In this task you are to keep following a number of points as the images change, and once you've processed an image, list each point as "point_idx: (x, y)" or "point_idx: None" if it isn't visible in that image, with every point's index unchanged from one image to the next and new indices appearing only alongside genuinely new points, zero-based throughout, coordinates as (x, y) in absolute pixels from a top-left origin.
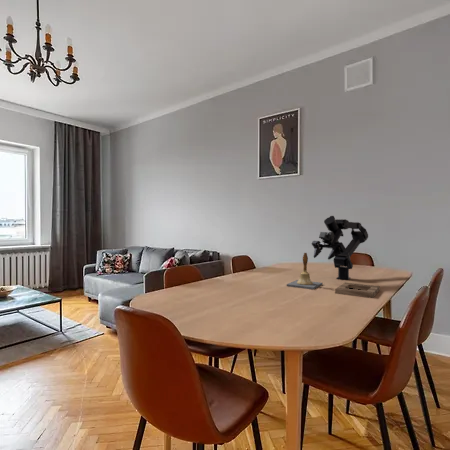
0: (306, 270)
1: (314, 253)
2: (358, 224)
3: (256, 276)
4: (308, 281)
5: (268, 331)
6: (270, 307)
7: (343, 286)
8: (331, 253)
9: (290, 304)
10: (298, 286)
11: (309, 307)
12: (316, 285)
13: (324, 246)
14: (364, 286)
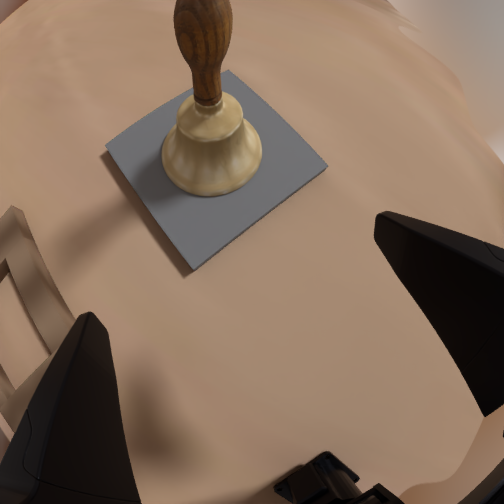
0: (197, 105)
1: (433, 228)
2: None
3: (445, 100)
4: (170, 143)
5: (4, 29)
6: (54, 20)
7: (25, 282)
8: (34, 398)
9: (39, 48)
10: (174, 101)
11: (3, 79)
12: (134, 184)
13: (481, 502)
14: (19, 388)
